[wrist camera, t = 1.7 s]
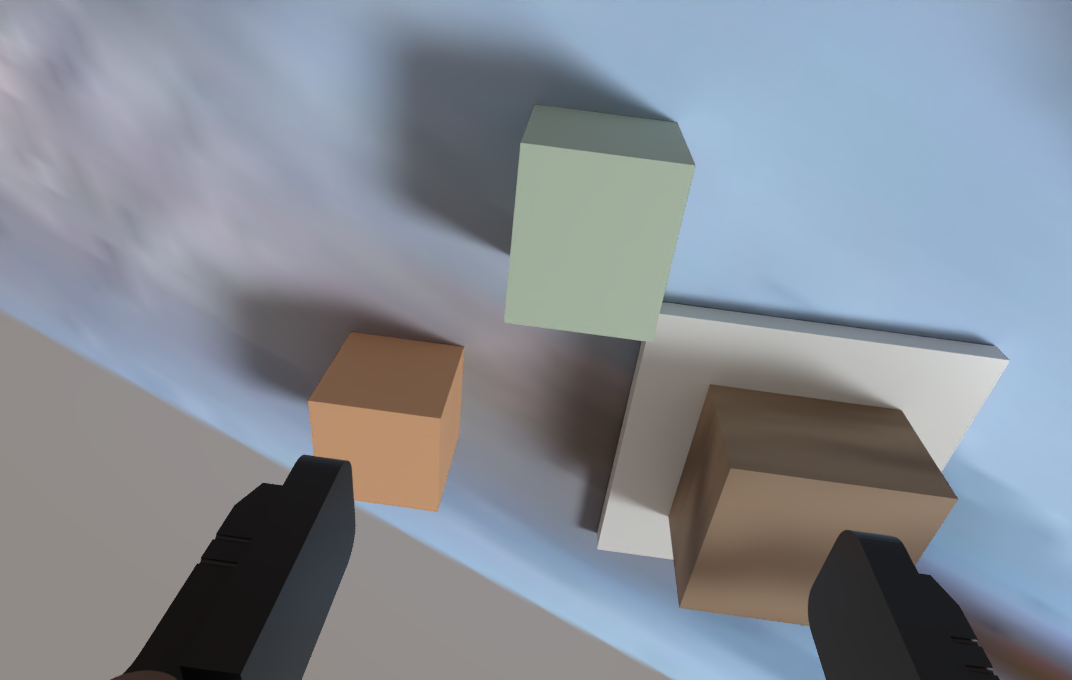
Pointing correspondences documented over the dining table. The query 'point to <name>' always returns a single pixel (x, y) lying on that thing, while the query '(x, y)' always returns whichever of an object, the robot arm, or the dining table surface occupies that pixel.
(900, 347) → the grey plate
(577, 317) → the sage block
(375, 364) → the terracotta block
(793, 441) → the walnut base block
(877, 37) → the dining table surface
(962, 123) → the dining table surface
